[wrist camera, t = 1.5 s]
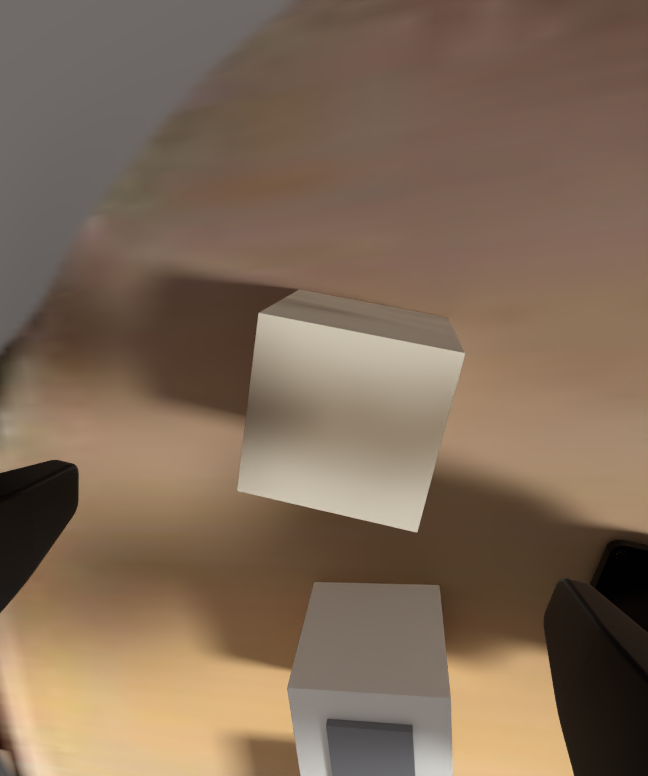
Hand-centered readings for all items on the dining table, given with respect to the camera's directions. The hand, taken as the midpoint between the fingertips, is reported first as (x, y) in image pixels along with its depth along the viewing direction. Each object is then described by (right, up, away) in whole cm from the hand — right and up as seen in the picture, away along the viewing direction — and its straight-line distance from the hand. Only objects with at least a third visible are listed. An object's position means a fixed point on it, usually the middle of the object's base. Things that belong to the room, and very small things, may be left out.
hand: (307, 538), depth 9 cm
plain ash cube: (+2, +3, +12) cm, 12 cm away
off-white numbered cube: (+3, -9, +16) cm, 18 cm away
